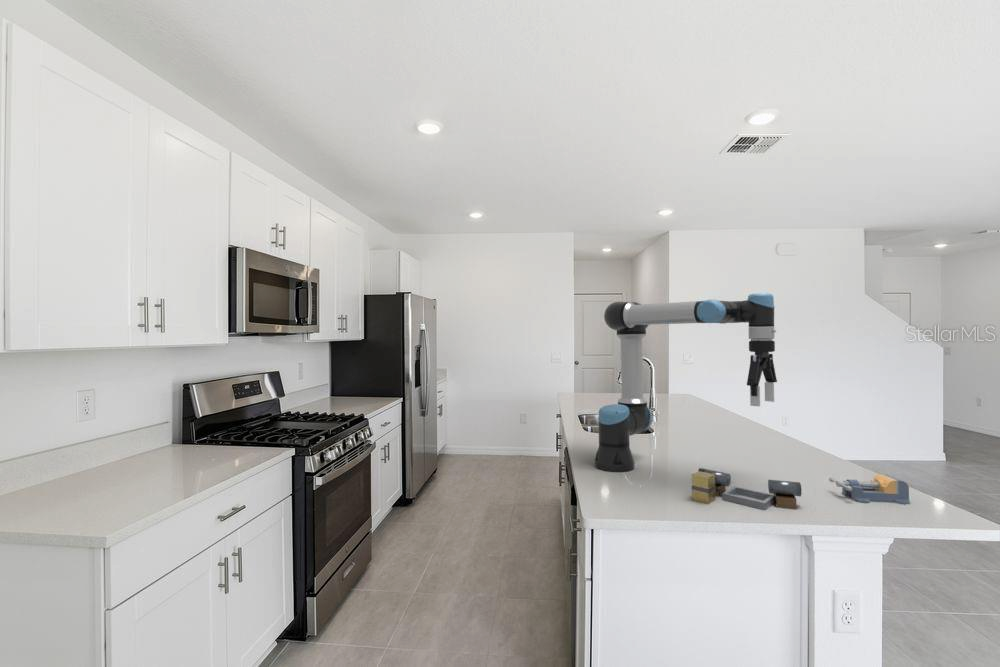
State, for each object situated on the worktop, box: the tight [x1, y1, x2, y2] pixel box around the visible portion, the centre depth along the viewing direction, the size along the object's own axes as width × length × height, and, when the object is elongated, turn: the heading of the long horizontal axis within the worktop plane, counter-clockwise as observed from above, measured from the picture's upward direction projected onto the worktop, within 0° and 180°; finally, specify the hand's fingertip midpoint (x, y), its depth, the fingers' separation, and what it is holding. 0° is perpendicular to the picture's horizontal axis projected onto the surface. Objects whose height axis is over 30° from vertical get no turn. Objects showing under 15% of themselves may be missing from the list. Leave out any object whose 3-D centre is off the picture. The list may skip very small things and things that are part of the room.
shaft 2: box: [767, 479, 802, 510], centre depth 139 cm, size 8×6×7 cm
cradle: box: [722, 485, 775, 511], centre depth 142 cm, size 12×10×2 cm
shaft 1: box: [697, 467, 732, 498], centre depth 150 cm, size 9×6×7 cm, turn 43°
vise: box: [828, 473, 911, 506], centre depth 143 cm, size 18×10×7 cm, turn 82°
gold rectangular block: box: [691, 470, 716, 505], centre depth 144 cm, size 5×5×8 cm
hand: (762, 403), depth 154 cm, fingers open, 13 cm apart
